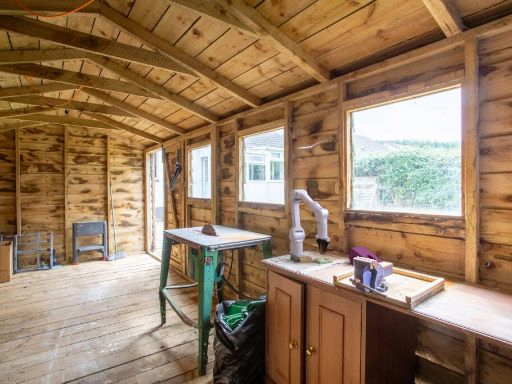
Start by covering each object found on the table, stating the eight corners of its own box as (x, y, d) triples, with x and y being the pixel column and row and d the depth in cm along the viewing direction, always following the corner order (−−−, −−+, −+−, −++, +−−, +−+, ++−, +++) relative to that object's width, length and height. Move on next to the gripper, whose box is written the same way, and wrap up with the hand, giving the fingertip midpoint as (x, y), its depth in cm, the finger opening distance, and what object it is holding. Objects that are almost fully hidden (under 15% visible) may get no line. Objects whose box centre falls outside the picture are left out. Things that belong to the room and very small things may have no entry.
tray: (314, 260, 180) (313, 258, 180) (325, 259, 183) (325, 257, 183) (320, 264, 173) (320, 261, 173) (332, 262, 175) (332, 260, 175)
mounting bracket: (381, 276, 165) (357, 257, 179) (387, 264, 162) (362, 245, 176) (370, 279, 160) (347, 259, 174) (376, 267, 157) (351, 247, 171)
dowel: (319, 253, 179) (319, 243, 179) (324, 253, 180) (323, 243, 179) (321, 254, 176) (321, 244, 176) (326, 254, 176) (326, 244, 176)
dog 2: (292, 261, 180) (292, 254, 180) (297, 261, 181) (297, 254, 181) (294, 262, 177) (294, 256, 177) (299, 262, 178) (299, 255, 178)
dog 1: (289, 259, 185) (289, 253, 185) (294, 259, 186) (294, 252, 186) (291, 260, 182) (291, 254, 182) (296, 260, 183) (295, 253, 183)
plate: (295, 260, 186) (294, 256, 186) (306, 258, 188) (306, 255, 188) (300, 262, 178) (300, 259, 178) (312, 261, 181) (312, 257, 180)
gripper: (310, 228, 183) (311, 249, 183) (322, 231, 169) (322, 254, 169) (320, 227, 185) (321, 248, 185) (333, 230, 171) (333, 253, 171)
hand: (322, 251), depth 178 cm, fingers closed on dowel, 3 cm apart
